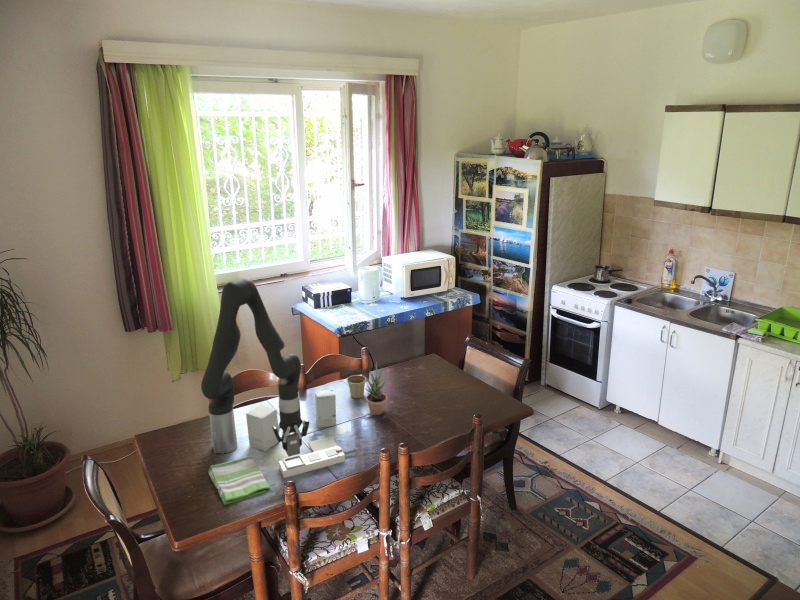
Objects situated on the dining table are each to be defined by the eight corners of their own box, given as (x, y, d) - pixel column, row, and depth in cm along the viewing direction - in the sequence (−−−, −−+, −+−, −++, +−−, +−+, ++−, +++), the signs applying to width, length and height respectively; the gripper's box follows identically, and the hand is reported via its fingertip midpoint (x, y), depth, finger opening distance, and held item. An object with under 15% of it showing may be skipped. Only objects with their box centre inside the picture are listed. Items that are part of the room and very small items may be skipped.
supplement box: (280, 441, 234) (277, 409, 229) (265, 452, 226) (262, 418, 222) (264, 435, 238) (261, 403, 234) (248, 446, 231) (245, 413, 226)
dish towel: (252, 460, 222) (251, 452, 221) (272, 490, 203) (271, 482, 202) (207, 474, 213) (206, 466, 212) (224, 507, 194) (222, 498, 193)
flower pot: (344, 393, 275) (343, 377, 272) (362, 389, 278) (362, 373, 276) (351, 401, 267) (350, 384, 264) (369, 397, 270) (369, 381, 268)
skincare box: (318, 428, 243) (316, 397, 239) (315, 421, 249) (313, 391, 244) (337, 425, 246) (335, 394, 241) (334, 418, 251) (333, 388, 247)
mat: (315, 455, 223) (315, 454, 223) (308, 443, 232) (308, 442, 232) (339, 449, 227) (339, 447, 227) (331, 437, 236) (331, 436, 236)
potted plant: (390, 414, 254) (389, 363, 247) (370, 418, 251) (368, 367, 244) (382, 404, 263) (381, 355, 256) (363, 408, 260) (361, 359, 252)
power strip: (284, 477, 209) (283, 469, 208) (279, 468, 215) (278, 459, 214) (359, 457, 222) (358, 448, 220) (352, 448, 228) (352, 440, 227)
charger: (288, 456, 209) (287, 437, 207) (285, 450, 213) (283, 431, 211) (300, 453, 211) (299, 434, 209) (296, 447, 215) (295, 429, 213)
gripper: (272, 416, 200) (276, 457, 205) (311, 407, 206) (313, 448, 211) (267, 406, 207) (271, 447, 212) (305, 398, 213) (307, 438, 218)
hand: (292, 447), depth 212 cm, fingers closed on charger, 4 cm apart
